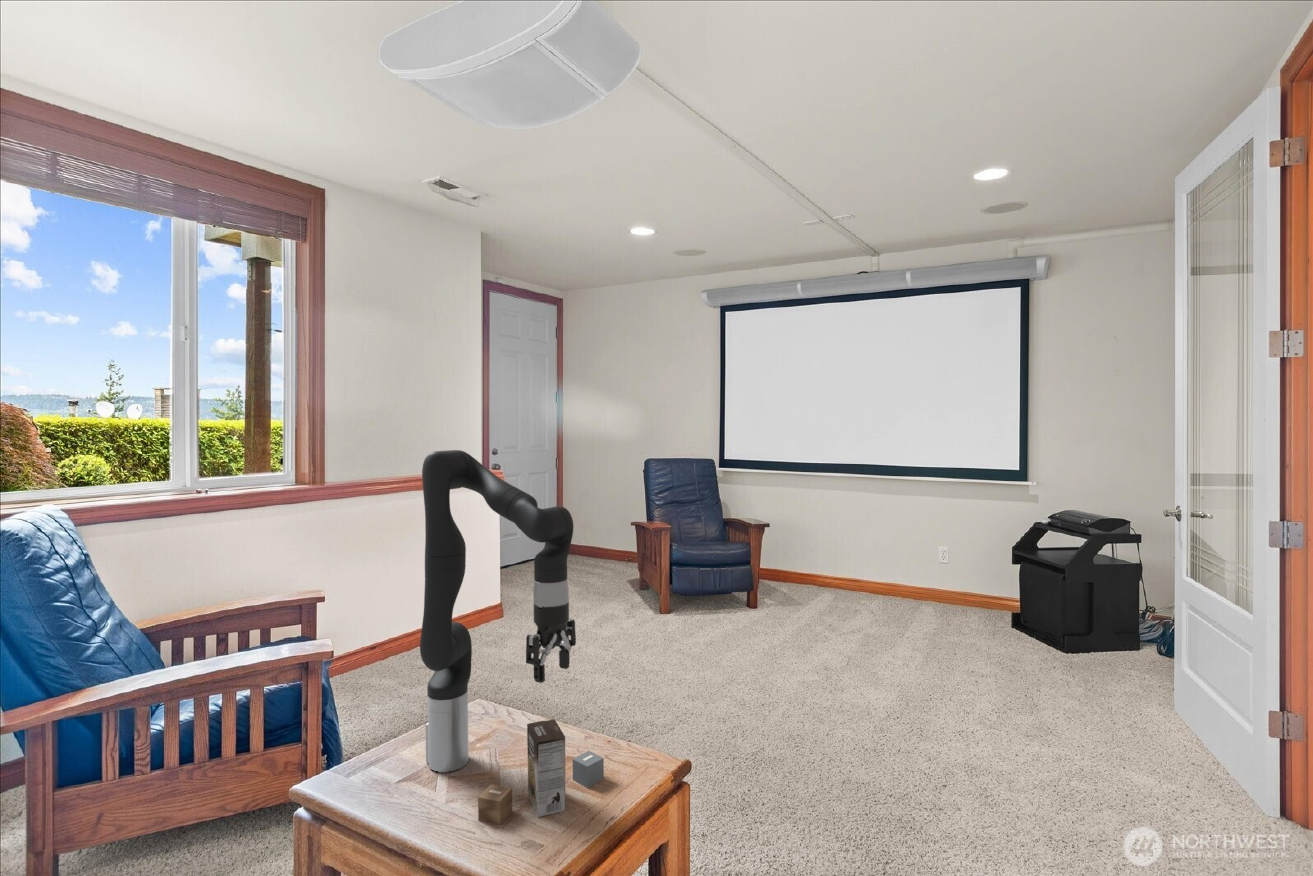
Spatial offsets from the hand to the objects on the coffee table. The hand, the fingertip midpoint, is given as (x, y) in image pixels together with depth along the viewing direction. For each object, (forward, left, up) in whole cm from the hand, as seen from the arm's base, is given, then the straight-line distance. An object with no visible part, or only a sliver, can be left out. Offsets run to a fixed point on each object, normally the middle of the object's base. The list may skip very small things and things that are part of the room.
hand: (552, 674), depth 142 cm
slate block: (+2, +10, -28) cm, 29 cm away
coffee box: (0, -2, -28) cm, 28 cm away
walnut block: (-6, -11, -28) cm, 30 cm away
